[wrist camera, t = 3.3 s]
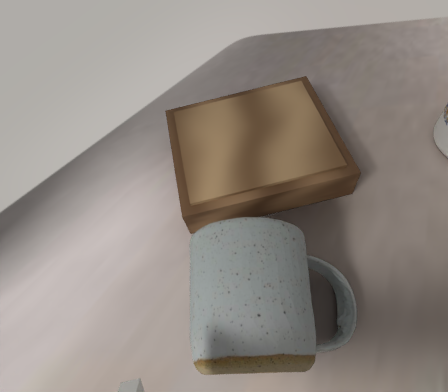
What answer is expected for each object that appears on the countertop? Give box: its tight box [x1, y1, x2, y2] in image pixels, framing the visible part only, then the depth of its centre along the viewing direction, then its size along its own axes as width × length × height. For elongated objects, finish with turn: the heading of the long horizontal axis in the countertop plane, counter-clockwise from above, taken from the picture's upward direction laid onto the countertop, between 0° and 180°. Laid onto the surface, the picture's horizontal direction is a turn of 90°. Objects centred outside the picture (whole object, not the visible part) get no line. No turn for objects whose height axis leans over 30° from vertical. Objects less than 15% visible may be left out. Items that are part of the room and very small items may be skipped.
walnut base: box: [166, 76, 361, 234], centre depth 28 cm, size 14×12×3 cm
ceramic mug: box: [190, 217, 357, 375], centre depth 19 cm, size 11×8×8 cm
